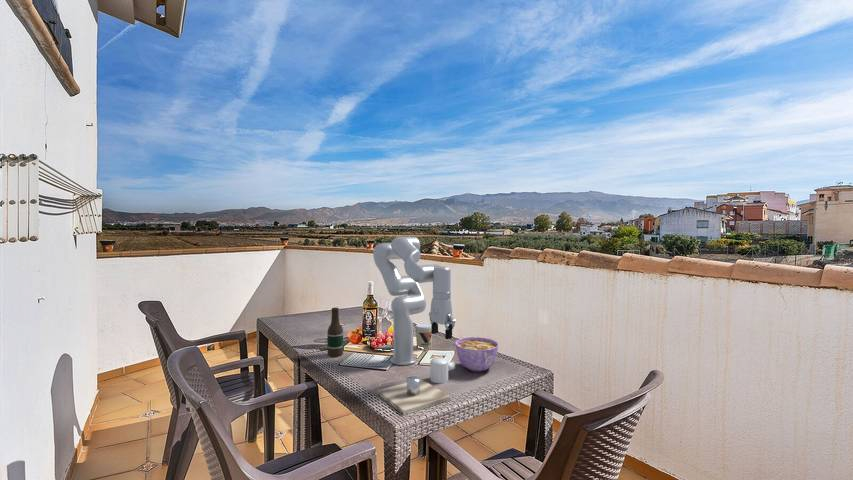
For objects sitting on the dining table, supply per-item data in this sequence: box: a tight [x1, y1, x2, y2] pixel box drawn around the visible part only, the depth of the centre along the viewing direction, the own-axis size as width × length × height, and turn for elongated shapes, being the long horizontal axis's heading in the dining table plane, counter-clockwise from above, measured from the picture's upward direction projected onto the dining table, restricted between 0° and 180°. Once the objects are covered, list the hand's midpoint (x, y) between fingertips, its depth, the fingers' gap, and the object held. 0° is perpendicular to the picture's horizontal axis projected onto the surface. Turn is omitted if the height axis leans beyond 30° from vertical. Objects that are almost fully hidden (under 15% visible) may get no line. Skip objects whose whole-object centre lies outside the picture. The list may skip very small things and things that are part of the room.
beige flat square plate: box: [377, 375, 451, 413], centre depth 145 cm, size 20×20×7 cm
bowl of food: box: [455, 336, 500, 373], centre depth 175 cm, size 20×20×12 cm
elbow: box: [429, 357, 456, 384], centre depth 163 cm, size 7×11×8 cm
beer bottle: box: [326, 307, 344, 358], centre depth 193 cm, size 8×8×24 cm
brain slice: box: [367, 341, 394, 350], centre depth 205 cm, size 20×17×3 cm
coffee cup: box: [415, 323, 433, 351], centre depth 205 cm, size 9×9×12 cm
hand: (441, 335), depth 162 cm, fingers open, 9 cm apart
